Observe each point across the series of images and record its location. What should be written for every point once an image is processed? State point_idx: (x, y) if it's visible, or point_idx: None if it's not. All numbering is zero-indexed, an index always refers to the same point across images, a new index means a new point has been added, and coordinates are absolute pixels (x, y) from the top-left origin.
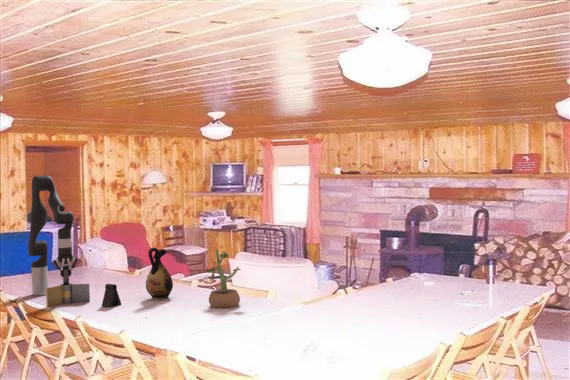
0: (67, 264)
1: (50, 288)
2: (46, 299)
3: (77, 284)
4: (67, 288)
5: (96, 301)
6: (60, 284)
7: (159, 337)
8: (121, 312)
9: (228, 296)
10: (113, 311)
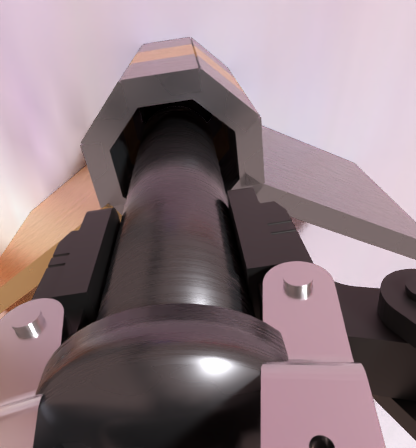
0: (261, 387)
1: (8, 302)
2: (8, 246)
3: (315, 223)
4: None
5: (402, 163)
6: (91, 138)
7: None
8: (402, 438)
9: None
10: (382, 418)
